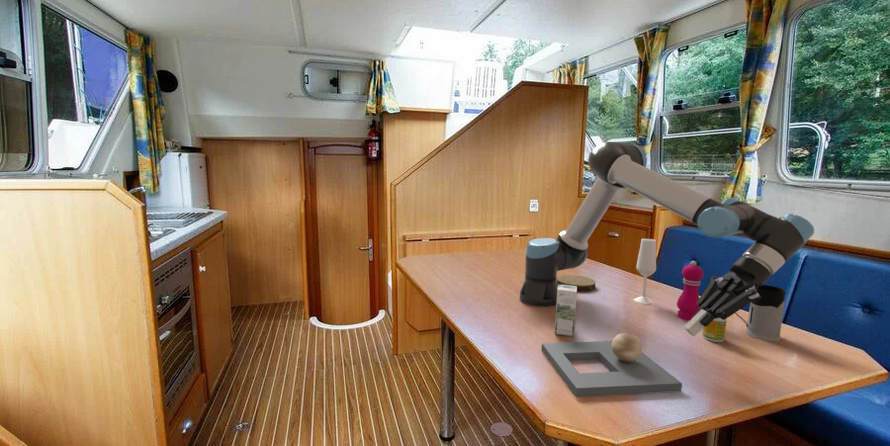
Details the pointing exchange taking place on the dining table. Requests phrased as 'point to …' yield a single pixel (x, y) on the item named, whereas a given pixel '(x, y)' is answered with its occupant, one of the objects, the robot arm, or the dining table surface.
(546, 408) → the dining table surface
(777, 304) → the glass holder
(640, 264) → the champagne flute
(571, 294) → the syrup box
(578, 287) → the wood slice
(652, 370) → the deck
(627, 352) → the tan round lump
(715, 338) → the supplement bottle
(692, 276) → the pepper mill
